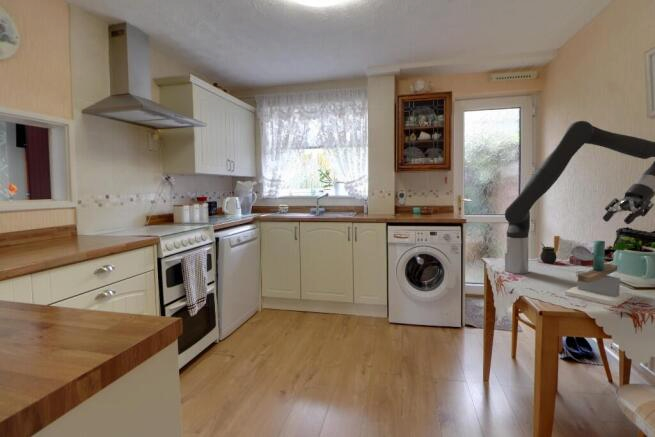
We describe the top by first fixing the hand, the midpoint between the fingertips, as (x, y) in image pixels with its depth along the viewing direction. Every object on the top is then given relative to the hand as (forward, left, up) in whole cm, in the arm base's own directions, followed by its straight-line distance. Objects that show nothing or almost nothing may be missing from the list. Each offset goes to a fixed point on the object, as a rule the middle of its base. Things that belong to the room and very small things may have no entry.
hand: (615, 221), depth 128 cm
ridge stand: (-2, -9, -28) cm, 29 cm away
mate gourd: (-38, +30, -28) cm, 55 cm away
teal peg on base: (-2, -9, -20) cm, 22 cm away
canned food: (-26, +38, -28) cm, 53 cm away
